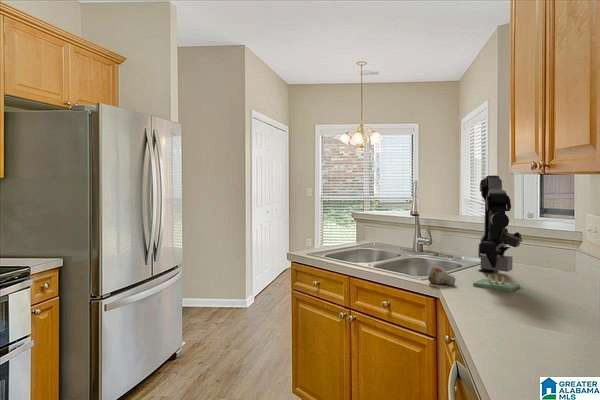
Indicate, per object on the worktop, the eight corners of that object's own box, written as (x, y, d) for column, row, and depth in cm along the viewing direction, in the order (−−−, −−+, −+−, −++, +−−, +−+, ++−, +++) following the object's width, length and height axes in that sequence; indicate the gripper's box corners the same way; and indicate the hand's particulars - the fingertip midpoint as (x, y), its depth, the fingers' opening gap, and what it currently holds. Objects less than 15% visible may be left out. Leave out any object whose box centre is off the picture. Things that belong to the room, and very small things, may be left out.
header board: (482, 281, 183) (482, 271, 183) (519, 287, 173) (519, 276, 173) (473, 285, 177) (473, 275, 176) (511, 292, 167) (511, 280, 167)
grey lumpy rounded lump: (454, 288, 174) (441, 265, 175) (433, 295, 181) (420, 273, 181) (461, 280, 180) (448, 257, 180) (441, 287, 186) (428, 265, 187)
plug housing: (485, 266, 180) (485, 253, 180) (512, 269, 173) (512, 256, 173) (480, 268, 176) (480, 255, 176) (507, 271, 170) (507, 258, 169)
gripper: (510, 229, 161) (509, 273, 162) (527, 224, 175) (527, 265, 176) (478, 227, 169) (478, 269, 170) (498, 222, 183) (497, 261, 184)
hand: (496, 266), depth 175 cm, fingers closed on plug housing, 5 cm apart
